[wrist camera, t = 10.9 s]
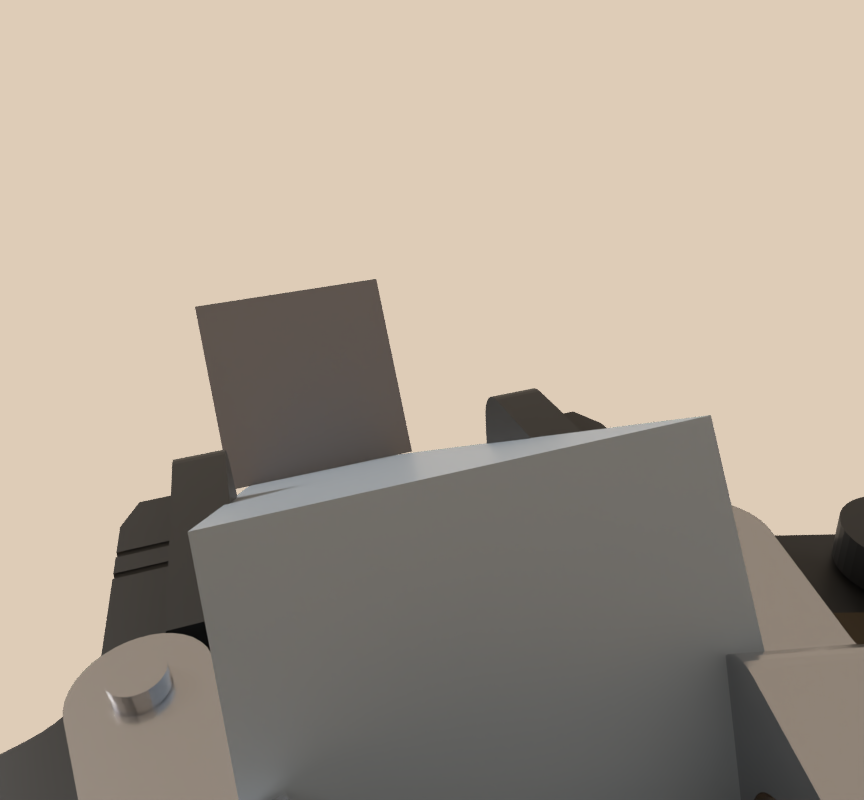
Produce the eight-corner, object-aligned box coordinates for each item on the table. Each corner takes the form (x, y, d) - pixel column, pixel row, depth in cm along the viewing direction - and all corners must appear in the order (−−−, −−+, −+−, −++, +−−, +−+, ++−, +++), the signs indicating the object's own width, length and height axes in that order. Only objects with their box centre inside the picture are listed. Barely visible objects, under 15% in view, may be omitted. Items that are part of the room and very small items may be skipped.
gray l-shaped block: (193, 1023, 5) (-27, -178, 5) (257, 567, 26) (214, 349, 26) (851, 777, 6) (628, -180, 6) (392, 535, 27) (350, 326, 27)
